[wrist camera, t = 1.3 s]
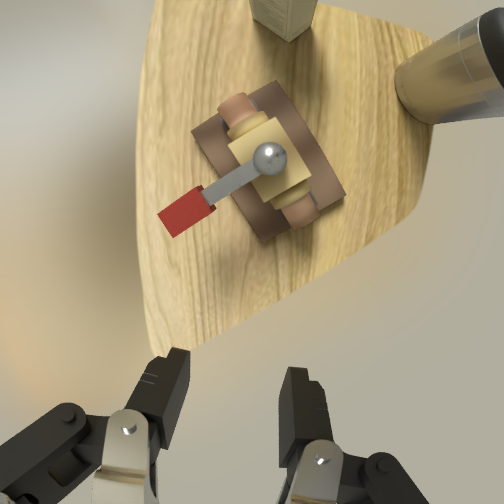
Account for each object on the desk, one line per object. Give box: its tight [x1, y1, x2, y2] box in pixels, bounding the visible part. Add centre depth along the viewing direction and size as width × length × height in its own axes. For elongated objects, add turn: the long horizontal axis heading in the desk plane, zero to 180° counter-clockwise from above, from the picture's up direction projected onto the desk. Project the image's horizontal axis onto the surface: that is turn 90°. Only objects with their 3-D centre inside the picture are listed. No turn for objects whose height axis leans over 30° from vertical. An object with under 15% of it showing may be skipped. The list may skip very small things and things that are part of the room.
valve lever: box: [157, 142, 287, 238], centre depth 22 cm, size 11×3×2 cm, turn 122°
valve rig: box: [191, 80, 346, 243], centre depth 26 cm, size 15×11×8 cm
